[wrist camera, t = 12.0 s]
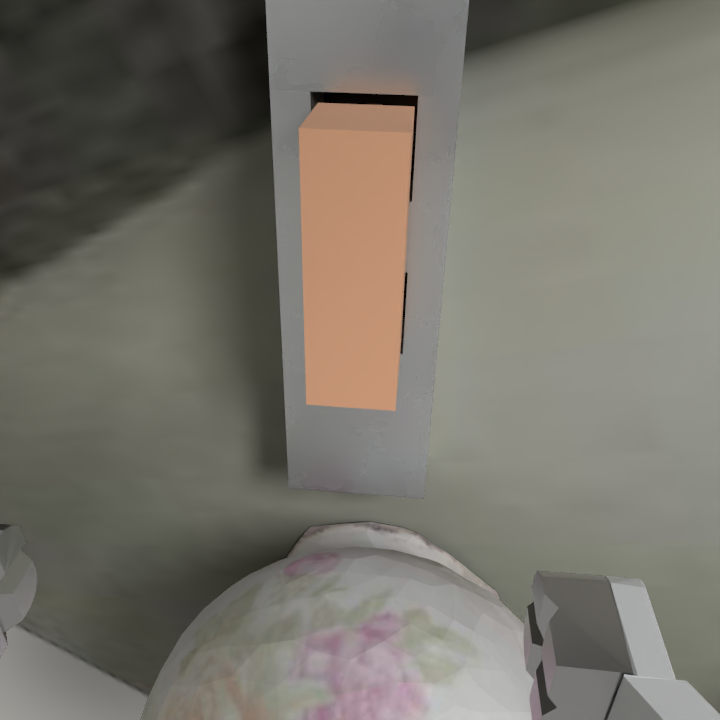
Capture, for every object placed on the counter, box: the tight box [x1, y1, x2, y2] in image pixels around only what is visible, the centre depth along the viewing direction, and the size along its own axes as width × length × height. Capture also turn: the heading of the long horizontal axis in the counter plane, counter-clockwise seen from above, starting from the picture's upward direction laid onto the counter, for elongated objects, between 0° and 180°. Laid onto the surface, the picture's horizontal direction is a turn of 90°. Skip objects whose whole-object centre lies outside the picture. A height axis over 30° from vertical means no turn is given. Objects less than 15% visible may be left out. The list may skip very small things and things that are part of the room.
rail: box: [265, 0, 469, 499], centre depth 25 cm, size 24×6×3 cm, turn 179°
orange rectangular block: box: [299, 103, 415, 411], centre depth 23 cm, size 9×3×7 cm, turn 179°
